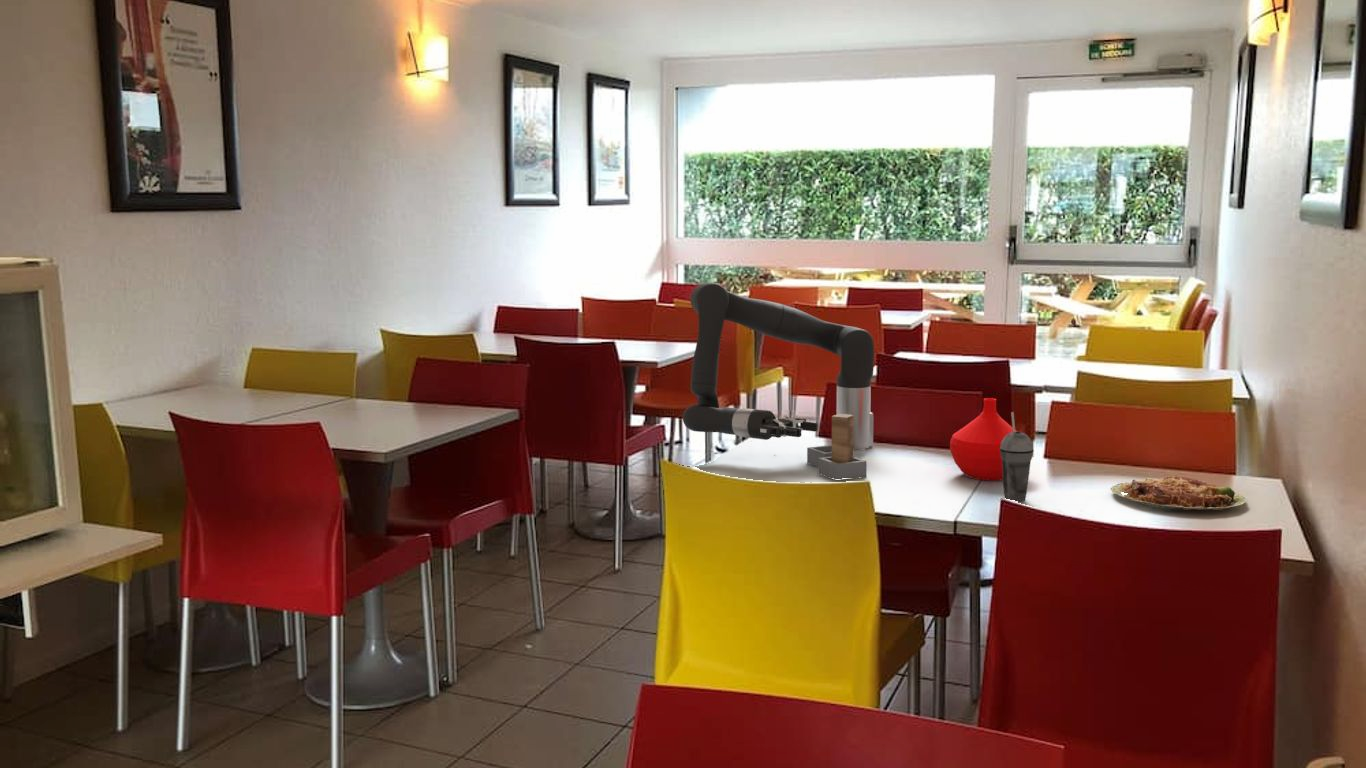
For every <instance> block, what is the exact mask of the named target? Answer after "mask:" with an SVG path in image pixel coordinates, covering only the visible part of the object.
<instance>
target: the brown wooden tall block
mask: <svg viewBox="0 0 1366 768" xmlns="http://www.w3.org/2000/svg"><path fill="white" fill-rule="evenodd" d="M831 445H832V458H831V461H833V462H836V463H838V464H839V463H847V462H853V457H854V450H853V446H854V415H847V414H837V413H836V414H834V415H832V416H831Z"/></svg>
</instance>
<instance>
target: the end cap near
mask: <svg viewBox="0 0 1366 768" xmlns="http://www.w3.org/2000/svg"><path fill="white" fill-rule="evenodd" d="M831 458H832V456H831V457H823V458H819V467H818V471H817V472H818V473H819V475H820V474H822V475H821V476H823V475H825V476H824V477H826V476H827V477H826V478H828V477H830V478H829V479H831V478H834V479H842V478H856V479H860V478H859V477H863V478H867V473H868V472H867V470H868V468H867V467H868V466H867V463H868V462H867V460H864V459H862V458H859V457H856V456H853V462H847V463H839V464H838V463H836V462H833V461H831ZM835 481H836V482H838V481H841V480H835Z"/></svg>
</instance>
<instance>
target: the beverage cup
mask: <svg viewBox="0 0 1366 768" xmlns="http://www.w3.org/2000/svg"><path fill="white" fill-rule="evenodd" d="M1014 413H1015V412H1014V411H1012V412H1010V414H1011V415H1010V416H1011V427H1013V432H1011V433H1009V434H1007V435H1006V436H1005V437H1004V438H1003V440H1002V442H1001V446H1000V454H1001V458H1002V471H1003V480H1002V486H1003V496H1004V498H1006V499H1010V500H1015V501H1018V502H1022V503H1025V502H1026V497H1027V493H1028V485H1029V479H1030V478H1029V477H1030V469H1031V461H1032V458H1033V454H1034V445H1033V442H1032V439H1031V438H1030V437H1029V435H1027V434H1026V433H1024V432H1022V431H1018V432H1015V430H1016V426H1015V425H1016V424H1015V414H1014Z"/></svg>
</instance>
